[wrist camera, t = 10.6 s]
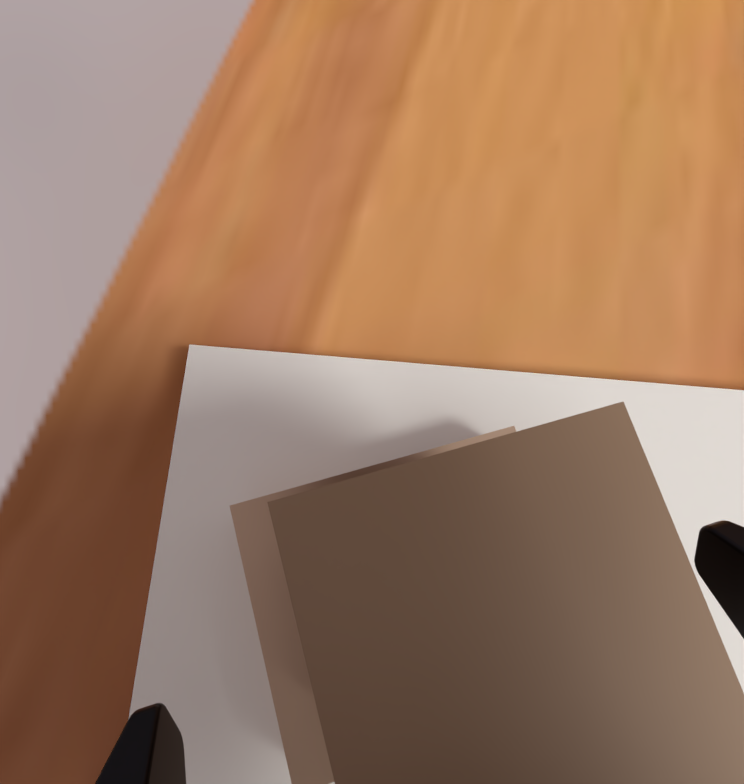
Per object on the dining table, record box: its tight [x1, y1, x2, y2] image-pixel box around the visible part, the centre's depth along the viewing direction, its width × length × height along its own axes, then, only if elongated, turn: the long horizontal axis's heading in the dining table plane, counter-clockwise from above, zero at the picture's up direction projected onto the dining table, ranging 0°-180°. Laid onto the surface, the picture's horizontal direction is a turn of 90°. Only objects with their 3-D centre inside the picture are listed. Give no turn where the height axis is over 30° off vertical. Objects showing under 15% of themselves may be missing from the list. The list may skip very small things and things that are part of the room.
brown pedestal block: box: [230, 402, 744, 784], centre depth 10 cm, size 7×6×10 cm
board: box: [128, 345, 744, 784], centre depth 15 cm, size 24×20×2 cm
